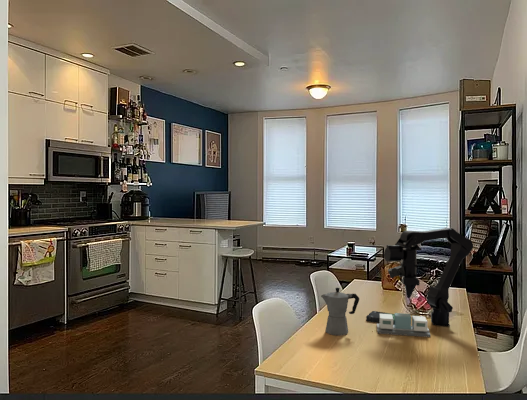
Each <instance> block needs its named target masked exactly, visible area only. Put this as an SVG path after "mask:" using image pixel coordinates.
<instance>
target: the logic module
mask: <svg viewBox="0 0 527 400" xmlns="http://www.w3.org/2000/svg"><path fill="white" fill-rule="evenodd" d="M394 314H395V323H394V325H395V328H398V329H411V326H412V315H411V313H401V312H394Z"/></svg>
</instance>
